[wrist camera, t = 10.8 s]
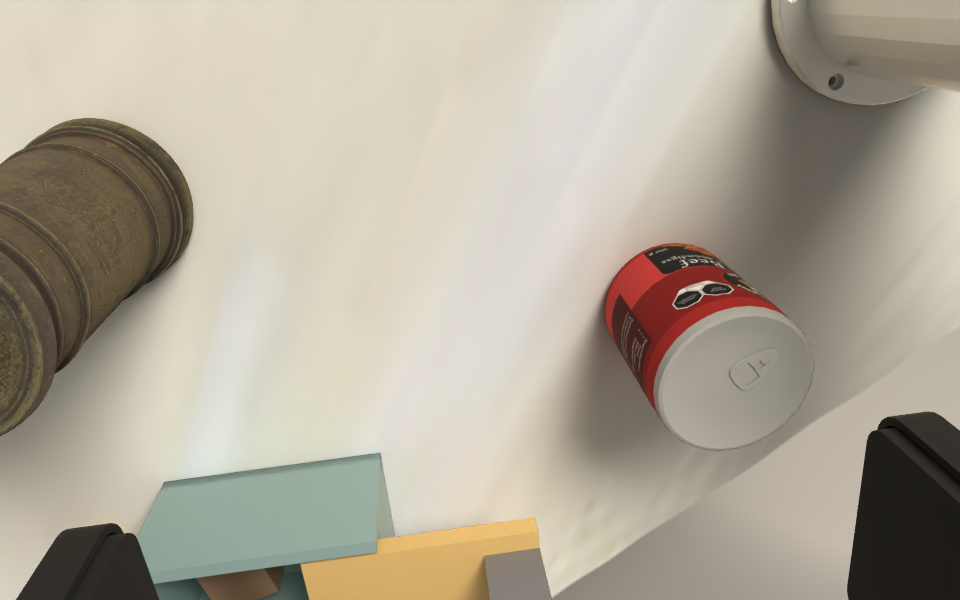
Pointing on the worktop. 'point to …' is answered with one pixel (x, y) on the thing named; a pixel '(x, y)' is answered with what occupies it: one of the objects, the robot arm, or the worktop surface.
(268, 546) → the tub
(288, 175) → the worktop surface
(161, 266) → the container
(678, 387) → the canned food
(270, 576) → the walnut block
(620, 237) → the worktop surface
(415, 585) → the lid
